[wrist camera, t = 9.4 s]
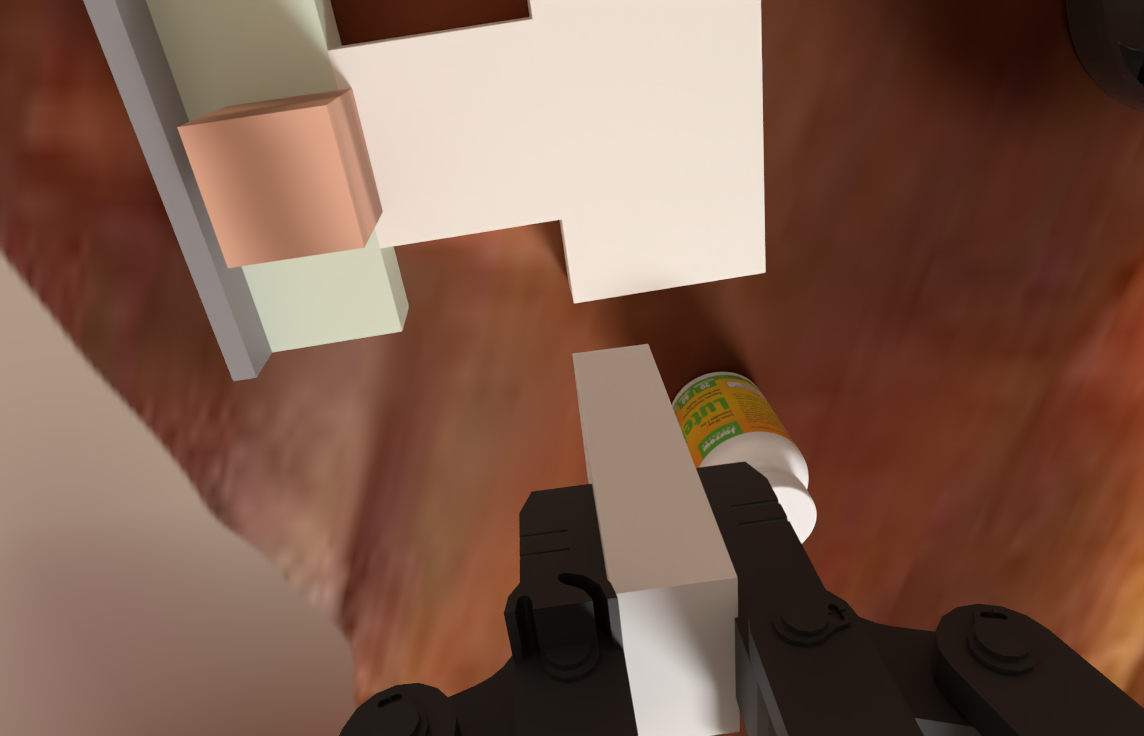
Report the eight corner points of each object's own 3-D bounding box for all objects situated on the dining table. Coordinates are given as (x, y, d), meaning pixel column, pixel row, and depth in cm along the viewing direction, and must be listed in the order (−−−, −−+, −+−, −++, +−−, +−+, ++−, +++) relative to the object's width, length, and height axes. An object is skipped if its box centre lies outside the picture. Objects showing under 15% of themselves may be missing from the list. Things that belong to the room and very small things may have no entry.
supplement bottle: (702, 352, 40) (761, 453, 31) (781, 393, 41) (857, 500, 32) (648, 430, 41) (689, 545, 33) (726, 466, 43) (784, 585, 34)
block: (352, 87, 29) (326, 105, 25) (383, 211, 32) (364, 247, 27) (225, 106, 29) (177, 127, 25) (265, 229, 32) (227, 268, 27)
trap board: (734, -127, 30) (781, -150, 25) (746, 252, 37) (784, 291, 32) (138, -37, 29) (66, -42, 24) (268, 329, 37) (233, 381, 32)
